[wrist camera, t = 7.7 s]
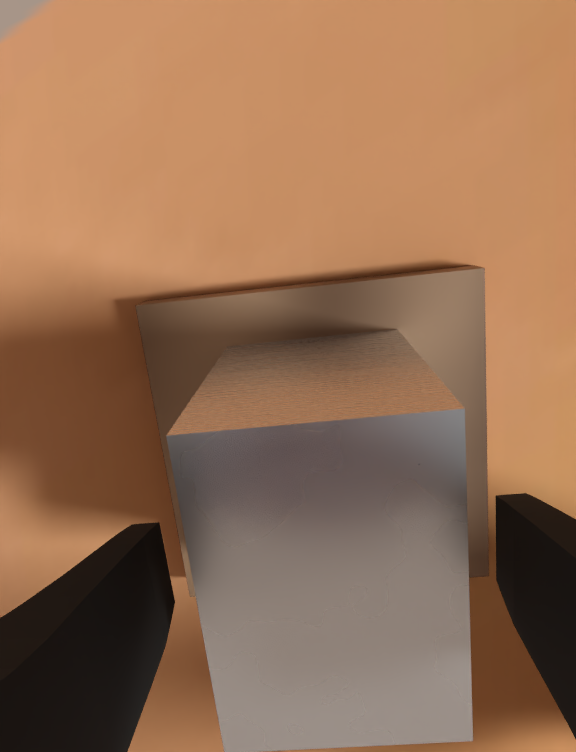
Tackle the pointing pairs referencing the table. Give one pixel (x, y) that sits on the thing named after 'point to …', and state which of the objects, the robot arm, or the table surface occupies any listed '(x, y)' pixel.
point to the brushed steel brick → (329, 543)
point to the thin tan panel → (328, 318)
